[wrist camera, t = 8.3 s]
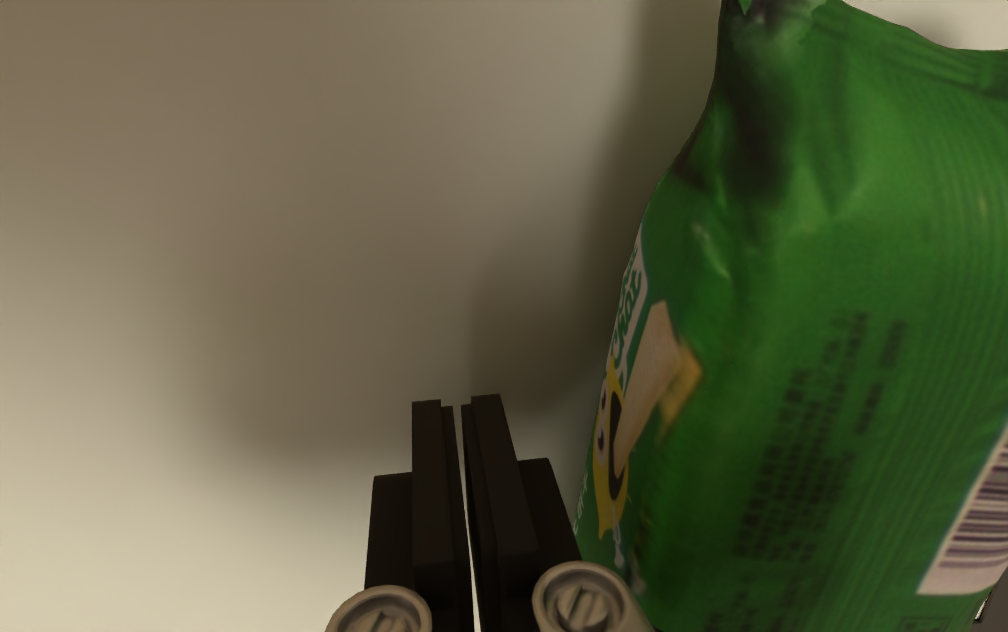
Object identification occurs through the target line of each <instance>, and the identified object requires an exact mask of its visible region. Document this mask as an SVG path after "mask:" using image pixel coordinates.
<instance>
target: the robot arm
mask: <svg viewBox="0 0 1008 632" xmlns="http://www.w3.org/2000/svg"><path fill="white" fill-rule="evenodd" d="M461 417H462V433H463V449H464V465H465V481H466V498H467V514H468V526H469V536H470V544H471V552H472V561H473V569H474V577H475V586H476V594H477V603H478V611H479V619H480V628H481V632H664V631H662V630H660V629H658V628H656V627H655V626H653V625H652V624H651V623H650V621H649V619H648V618H647V616H646V614H645V613H644V611H643V609H642V608H641V606H640V604H639V603H638V601H637V599H636V598H635V596H634V594H633V593H632V591H631V589H630V588H629V586H628V585H627V584H626V583H625V581H624V580H623V579H622V578H621V577H620V576H619V575H618V574H616V573H615V572H613V571H612V570H610V569H609V568H607V567H605V566H602V565H599V564H597V563H594V562H586V561H583V560H582V557H581V554H580V551H579V548H578V545H577V542H576V539H575V536H574V533H573V530H572V527H571V524H570V521H569V518H568V515H567V512H566V509H565V506H564V503H563V500H562V497H561V494H560V491H559V488H558V484H557V481H556V478H555V475H554V472H553V469H552V466H551V464H550V461H549V459H548V458H538V459H529V460H519V461H517V459H516V455H515V451H514V447H513V443H512V439H511V435H510V432H509V428H508V424H507V420H506V416H505V412H504V408H503V404H502V400H501V396H500V394H491V395H481V396H471V404H466V405H461ZM325 632H475V630H474V614H473V598H472V582H471V567H470V556H469V545H468V536H467V528H466V519H465V510H464V502H463V493H462V484H461V475H460V467H459V458H458V449H457V441H456V432H455V423H454V415H453V406H444V407H441V399H438V400H427V401H416V402H412V472H407V473H398V474H388V475H379V476H375V477H374V481H373V491H372V502H371V514H370V526H369V538H368V550H367V562H366V573H365V585H364V590H363V591H361V592H358V593H356V594H355V595H354V596H352V597H351V598H349V599H348V600H346V601H345V602H343V604H342V605H341V606H340V607H339V608H338V609H337V610H336V611H335V612H334V614H333V615H332V617H331V619H330V621H329V623H328V625H327V627H326V630H325Z"/></svg>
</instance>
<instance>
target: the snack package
mask: <svg viewBox="0 0 1008 632" xmlns="http://www.w3.org/2000/svg"><path fill="white" fill-rule="evenodd" d="M572 530H573V533H574V536H575V539H576V542H577V545H578V548H579V551H580V554H581V557H582V560H583V561H586V562H594V563H597V564H599V565H602V566H605V567H607V568H609V569H610V570H612V571H613V572H615V573H616V574H618V575H619V576H620V577H621V578H622V579H623V580H624V581H625V583H626V584H627V585H628V586H629V588H630V589H631V591H632V593H633V594H634V596H635V598H636V599H637V601H638V603H639V604H640V606H641V608H642V609H643V611H644V613H645V614H646V616H647V618H648V619H649V621H650V623H651V624H652V625H653V626H655V627H656V628H658V629H660V630H662V631H664V632H969V630H970V628H971V625H972V623H973V621H974V619H975V617H976V615H977V613H978V611H979V609H980V607H981V605H982V604H983V602H984V601H985V599H986V598H987V596H988V595H989V593H990V592H991V590H992V589H993V587H994V586H995V584H996V583H997V581H998V580H999V578H1000V577H1001V575H1002V574H1003V572H1004V571H1005V569H1006V568H1007V566H1008V49H1004V50H968V49H953V48H947V47H944V46H941V45H938V44H935V43H933V42H931V41H929V40H927V39H926V38H924V37H922V36H921V35H919V34H917V33H916V32H914V31H913V30H911V29H909V28H907V27H904V26H900V25H897V24H893V23H890V22H888V21H885V20H883V19H881V18H878V17H876V16H874V15H871V14H869V13H866V12H864V11H861V10H859V9H857V8H854V7H852V6H849V5H848V4H846V3H845V2H843V1H842V0H722V1H721V10H720V16H719V23H718V37H717V56H716V64H715V72H714V79H713V83H712V86H711V90H710V93H709V97H708V100H707V103H706V107H705V110H704V112H703V114H702V116H701V118H700V120H699V122H698V124H697V125H696V127H695V129H694V131H693V132H692V134H691V136H690V137H689V139H688V140H687V142H686V143H685V145H684V146H683V148H682V149H681V151H680V152H679V154H678V156H677V157H676V159H675V160H674V162H673V163H672V165H671V166H670V167H669V169H668V170H667V172H666V173H665V174H664V176H663V177H662V178H661V180H660V182H659V183H658V185H657V187H656V188H655V191H654V193H653V195H652V197H651V199H650V201H649V203H648V206H647V208H646V210H645V212H644V215H643V218H642V221H641V224H640V227H639V231H638V234H637V238H636V242H635V245H634V249H633V252H632V255H631V258H630V260H629V263H628V266H627V268H626V270H625V273H624V275H623V281H622V289H621V294H620V300H619V306H618V311H617V317H616V322H615V327H614V332H613V336H612V340H611V345H610V349H609V354H608V358H607V362H606V368H605V373H604V378H603V383H602V389H601V394H600V399H599V403H598V408H597V413H596V418H595V424H594V429H593V433H592V437H591V441H590V445H589V449H588V455H587V460H586V466H585V471H584V477H583V483H582V487H581V492H580V496H579V500H578V504H577V508H576V512H575V518H574V523H573V528H572Z"/></svg>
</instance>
